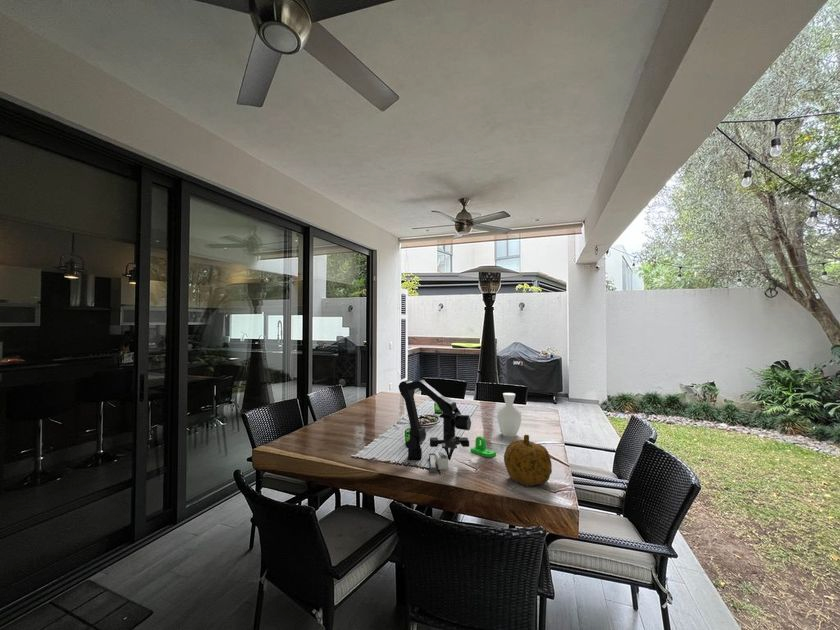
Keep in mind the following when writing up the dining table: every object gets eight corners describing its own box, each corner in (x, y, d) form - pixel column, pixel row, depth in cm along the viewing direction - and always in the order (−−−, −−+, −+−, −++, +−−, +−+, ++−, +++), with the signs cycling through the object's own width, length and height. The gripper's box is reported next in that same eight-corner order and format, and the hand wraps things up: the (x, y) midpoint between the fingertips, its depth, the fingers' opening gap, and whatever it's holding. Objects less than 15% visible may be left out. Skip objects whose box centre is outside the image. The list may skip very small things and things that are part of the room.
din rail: (430, 474, 160) (430, 468, 160) (429, 458, 178) (429, 453, 178) (436, 474, 160) (436, 468, 160) (435, 458, 178) (435, 453, 178)
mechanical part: (470, 452, 188) (470, 437, 189) (477, 449, 192) (477, 434, 192) (488, 458, 179) (488, 443, 180) (495, 456, 183) (495, 440, 183)
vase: (496, 437, 213) (496, 395, 214) (498, 430, 227) (498, 391, 227) (521, 439, 209) (520, 397, 209) (521, 432, 222) (521, 392, 223)
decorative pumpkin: (505, 490, 145) (505, 441, 146) (502, 469, 166) (502, 426, 166) (556, 494, 142) (556, 444, 142) (547, 473, 162) (547, 429, 163)
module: (438, 470, 165) (438, 458, 165) (435, 463, 173) (435, 452, 173) (448, 469, 166) (448, 458, 166) (444, 462, 174) (444, 451, 174)
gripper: (430, 432, 162) (430, 466, 162) (470, 432, 162) (471, 466, 162) (429, 425, 173) (429, 457, 173) (467, 425, 173) (467, 457, 173)
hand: (449, 459), depth 170 cm, fingers closed
